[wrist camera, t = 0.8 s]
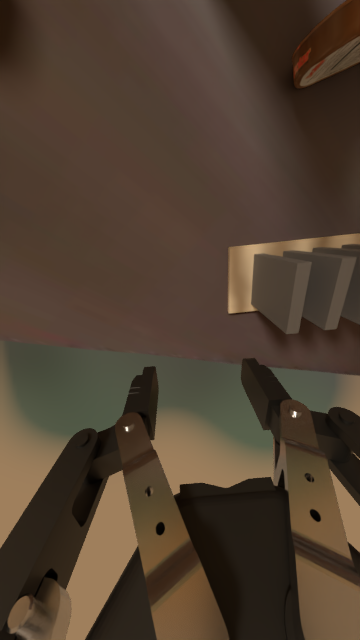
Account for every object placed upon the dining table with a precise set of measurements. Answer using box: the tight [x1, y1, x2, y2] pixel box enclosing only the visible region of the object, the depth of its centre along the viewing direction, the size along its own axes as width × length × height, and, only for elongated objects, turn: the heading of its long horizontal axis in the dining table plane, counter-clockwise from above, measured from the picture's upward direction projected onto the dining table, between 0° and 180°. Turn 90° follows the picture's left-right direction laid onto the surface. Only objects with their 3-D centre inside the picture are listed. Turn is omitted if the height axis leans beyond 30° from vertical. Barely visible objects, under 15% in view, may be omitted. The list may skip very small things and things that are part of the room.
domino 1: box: [251, 253, 312, 334], centre depth 28 cm, size 2×9×12 cm, turn 6°
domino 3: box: [312, 247, 360, 325], centre depth 28 cm, size 2×9×12 cm, turn 6°
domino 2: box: [283, 250, 357, 330], centre depth 28 cm, size 2×9×12 cm, turn 6°
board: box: [228, 233, 360, 314], centre depth 34 cm, size 30×12×1 cm, turn 96°
